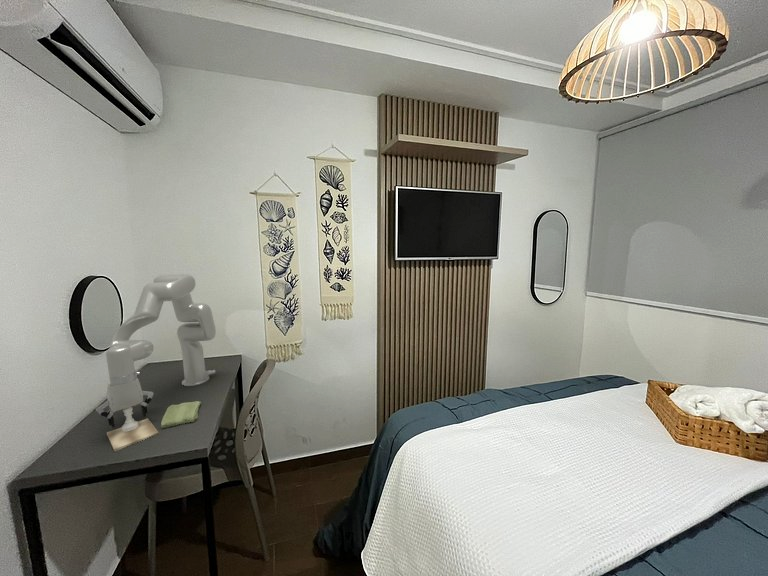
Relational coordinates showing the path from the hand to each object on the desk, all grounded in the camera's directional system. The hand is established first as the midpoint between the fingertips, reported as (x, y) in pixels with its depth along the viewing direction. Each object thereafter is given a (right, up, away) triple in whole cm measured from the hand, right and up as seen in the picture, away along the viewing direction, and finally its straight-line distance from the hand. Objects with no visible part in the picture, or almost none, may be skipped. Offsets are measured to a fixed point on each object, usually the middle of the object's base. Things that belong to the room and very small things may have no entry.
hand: (129, 420), depth 122 cm
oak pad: (+3, -4, -2) cm, 6 cm away
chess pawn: (0, -3, +1) cm, 4 cm away
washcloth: (+14, -3, +11) cm, 18 cm away
